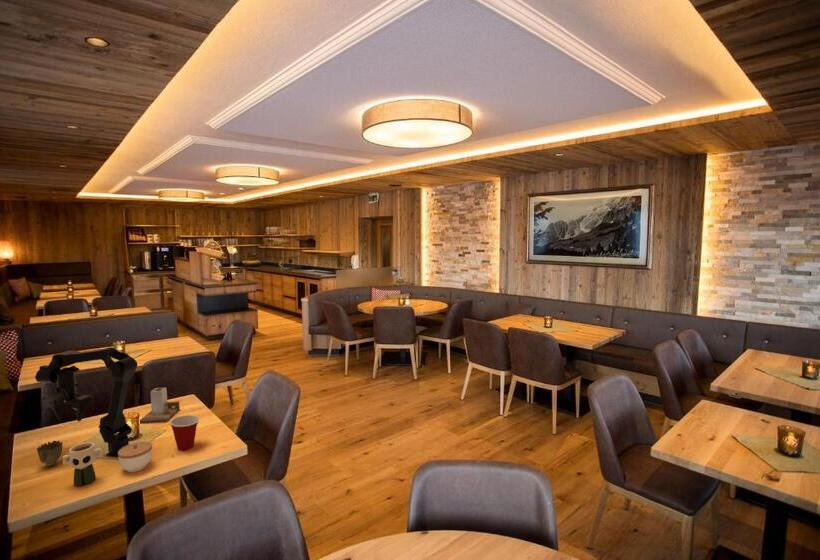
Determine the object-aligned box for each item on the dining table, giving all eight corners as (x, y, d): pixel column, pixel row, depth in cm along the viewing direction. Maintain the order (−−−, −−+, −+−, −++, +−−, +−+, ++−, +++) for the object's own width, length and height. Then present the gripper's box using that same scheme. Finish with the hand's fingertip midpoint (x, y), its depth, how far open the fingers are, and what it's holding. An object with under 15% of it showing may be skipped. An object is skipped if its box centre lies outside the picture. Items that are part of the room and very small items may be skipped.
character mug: (63, 491, 143) (59, 455, 142) (67, 481, 149) (64, 446, 148) (102, 482, 148) (99, 447, 147) (105, 472, 155) (102, 439, 153)
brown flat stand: (166, 422, 196) (165, 412, 196) (139, 423, 195) (138, 413, 195) (179, 410, 210) (179, 400, 210) (154, 411, 209) (153, 401, 208)
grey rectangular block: (163, 415, 200) (161, 391, 199) (152, 416, 200) (150, 391, 198) (168, 411, 205) (166, 387, 204) (157, 411, 205) (155, 388, 203)
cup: (34, 467, 158) (32, 447, 157) (56, 458, 165) (55, 438, 164) (46, 471, 155) (44, 451, 154) (68, 462, 162) (66, 442, 161)
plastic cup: (198, 451, 169) (196, 423, 168) (168, 455, 166) (166, 426, 165) (203, 439, 180) (201, 412, 179) (175, 442, 177) (173, 415, 175)
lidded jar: (129, 461, 162) (127, 438, 161) (158, 459, 164) (156, 436, 163) (112, 477, 152) (110, 452, 151) (144, 475, 153) (142, 450, 152)
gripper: (25, 388, 161) (29, 427, 163) (66, 391, 158) (69, 431, 160) (54, 378, 172) (57, 415, 174) (93, 381, 169) (96, 418, 170)
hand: (69, 420), depth 169 cm, fingers open, 9 cm apart
